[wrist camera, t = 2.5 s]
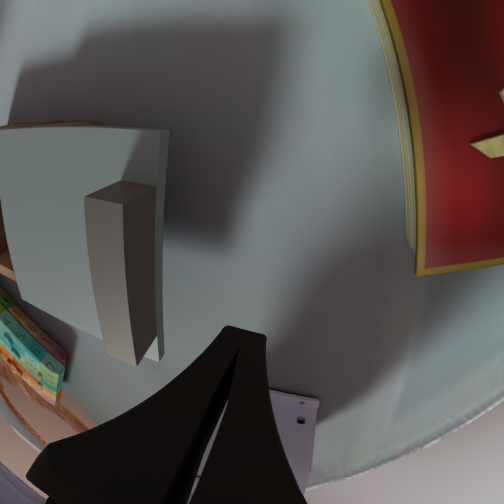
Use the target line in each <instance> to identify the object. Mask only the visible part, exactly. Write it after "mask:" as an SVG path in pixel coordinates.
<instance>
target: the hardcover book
mask: <svg viewBox="0 0 504 504" xmlns="http://www.w3.org/2000/svg"><path fill="white" fill-rule="evenodd" d="M368 2H369V5H370V8H371V11H372V14H373V17H374V20H375V24H376V27H377V30H378V34H379V38H380V41H381V45H382V49H383V53H384V57H385V61H386V65H387V69H388V74H389V78H390V83H391V88H392V93H393V99H394V104H395V110H396V117H397V123H398V130H399V138H400V146H401V155H402V166H403V178H404V193H405V218H406V240H407V242H408V243H409V245H410V247H411V248H412V250H413V251H414V253H415V270H414V273H415V275H416V277H420V276H428V275H435V274H442V273H449V272H456V271H463V270H469V269H476V268H482V267H488V266H494V265H500V264H504V0H368Z"/></svg>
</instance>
